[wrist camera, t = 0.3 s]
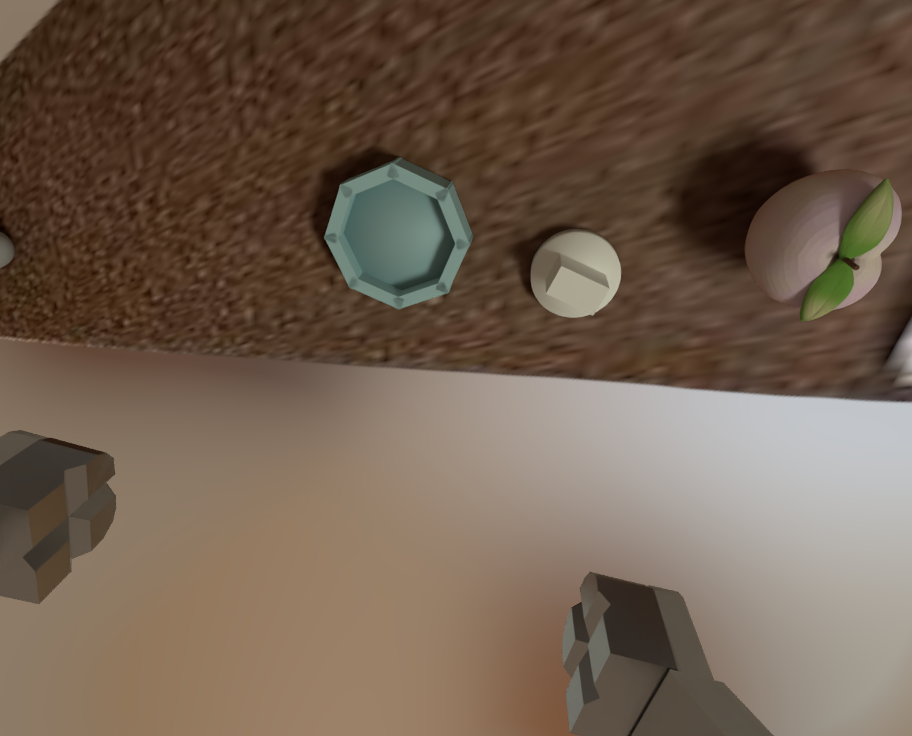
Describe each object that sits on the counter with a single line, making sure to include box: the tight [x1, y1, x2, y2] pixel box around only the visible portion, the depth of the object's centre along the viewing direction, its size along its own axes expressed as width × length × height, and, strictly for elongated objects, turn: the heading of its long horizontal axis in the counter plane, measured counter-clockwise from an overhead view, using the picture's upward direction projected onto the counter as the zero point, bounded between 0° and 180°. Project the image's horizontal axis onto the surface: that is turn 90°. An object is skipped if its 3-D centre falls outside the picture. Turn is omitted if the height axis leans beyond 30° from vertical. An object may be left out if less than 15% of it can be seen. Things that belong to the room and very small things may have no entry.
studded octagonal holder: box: [324, 157, 473, 309], centre depth 44 cm, size 11×11×2 cm
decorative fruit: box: [745, 169, 902, 322], centre depth 37 cm, size 9×8×10 cm
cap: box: [531, 229, 621, 317], centre depth 43 cm, size 7×7×4 cm
